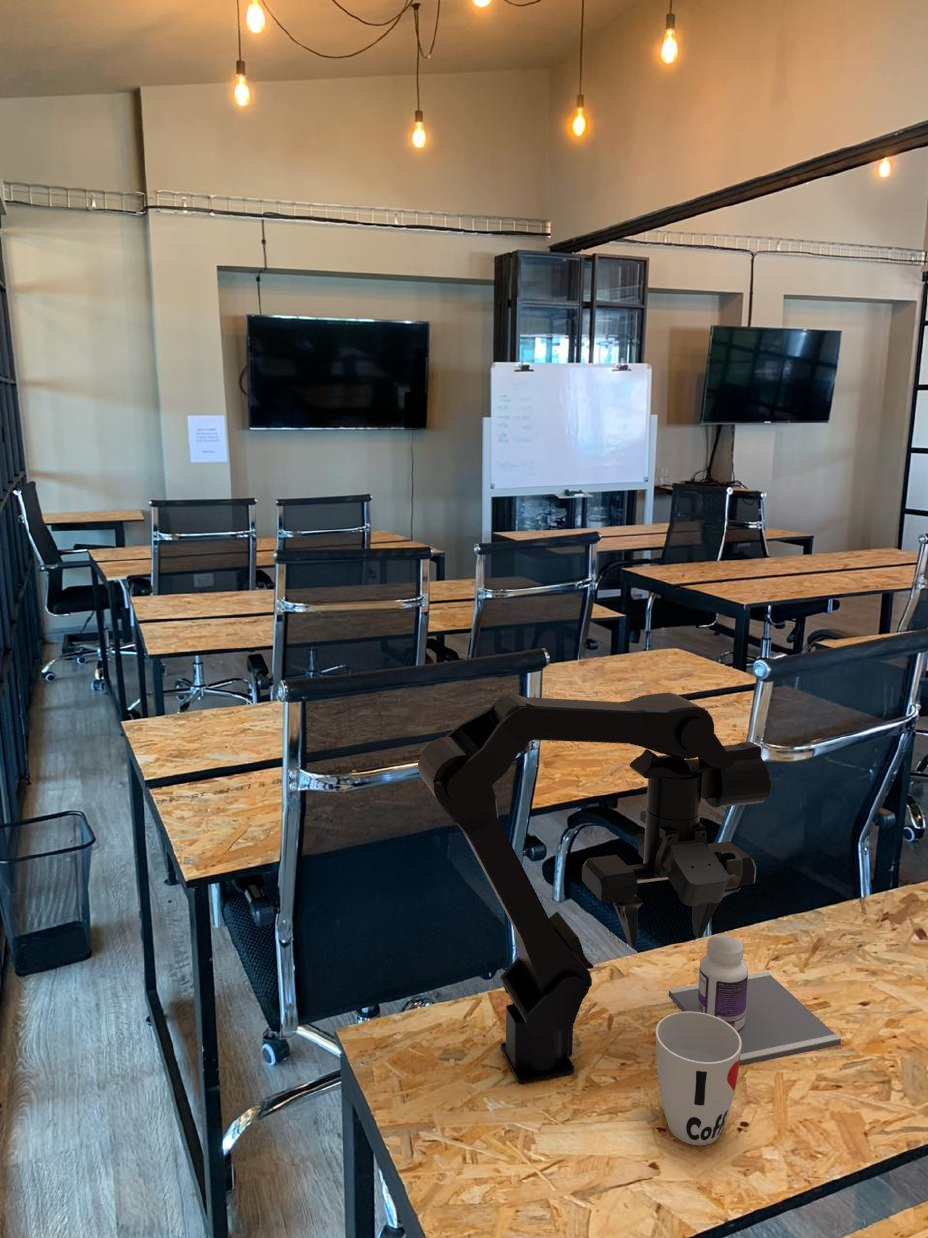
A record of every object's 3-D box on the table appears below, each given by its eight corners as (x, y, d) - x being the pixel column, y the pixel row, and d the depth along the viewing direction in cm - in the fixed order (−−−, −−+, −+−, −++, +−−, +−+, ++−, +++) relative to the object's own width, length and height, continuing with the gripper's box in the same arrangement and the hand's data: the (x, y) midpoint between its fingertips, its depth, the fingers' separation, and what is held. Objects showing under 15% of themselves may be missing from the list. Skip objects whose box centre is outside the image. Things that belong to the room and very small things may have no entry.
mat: (731, 1067, 101) (732, 1061, 101) (668, 994, 114) (668, 989, 114) (840, 1044, 105) (841, 1038, 104) (767, 976, 118) (767, 971, 118)
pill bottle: (752, 1018, 108) (757, 942, 106) (732, 1040, 104) (737, 962, 102) (709, 1000, 112) (713, 926, 110) (688, 1021, 108) (693, 945, 106)
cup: (684, 1167, 87) (689, 1073, 85) (636, 1111, 94) (639, 1023, 92) (753, 1142, 90) (759, 1050, 88) (701, 1089, 97) (705, 1003, 95)
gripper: (628, 850, 91) (621, 995, 93) (792, 830, 96) (780, 968, 99) (582, 808, 101) (577, 939, 104) (732, 792, 106) (723, 917, 109)
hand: (665, 941), depth 104 cm, fingers open, 8 cm apart
